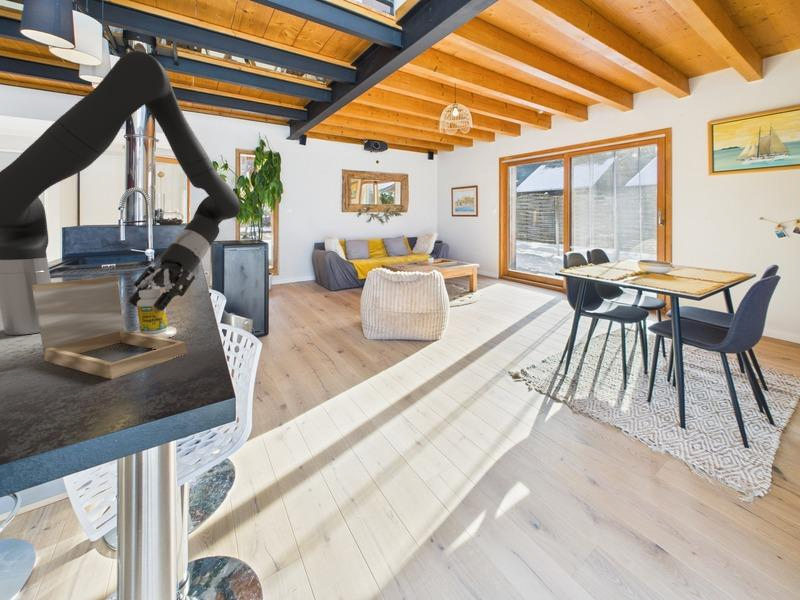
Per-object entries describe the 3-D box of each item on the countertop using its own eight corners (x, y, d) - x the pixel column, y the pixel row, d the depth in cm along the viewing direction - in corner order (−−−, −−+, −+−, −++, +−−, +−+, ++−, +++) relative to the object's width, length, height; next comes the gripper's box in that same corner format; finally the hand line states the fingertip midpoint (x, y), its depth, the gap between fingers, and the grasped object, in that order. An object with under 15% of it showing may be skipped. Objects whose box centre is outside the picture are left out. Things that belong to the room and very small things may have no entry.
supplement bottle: (167, 326, 90) (163, 287, 88) (168, 332, 85) (164, 291, 83) (140, 329, 87) (135, 289, 85) (139, 335, 82) (134, 293, 80)
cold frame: (44, 361, 70) (31, 285, 67) (123, 340, 83) (114, 276, 80) (112, 379, 62) (100, 295, 60) (187, 353, 75) (180, 283, 72)
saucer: (121, 339, 84) (120, 334, 83) (159, 329, 92) (159, 324, 91) (148, 344, 80) (147, 339, 80) (185, 333, 88) (185, 329, 88)
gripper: (154, 241, 91) (110, 294, 83) (196, 243, 86) (153, 300, 78) (176, 260, 97) (137, 312, 89) (217, 264, 92) (179, 319, 84)
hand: (144, 306), depth 83 cm, fingers open, 8 cm apart
